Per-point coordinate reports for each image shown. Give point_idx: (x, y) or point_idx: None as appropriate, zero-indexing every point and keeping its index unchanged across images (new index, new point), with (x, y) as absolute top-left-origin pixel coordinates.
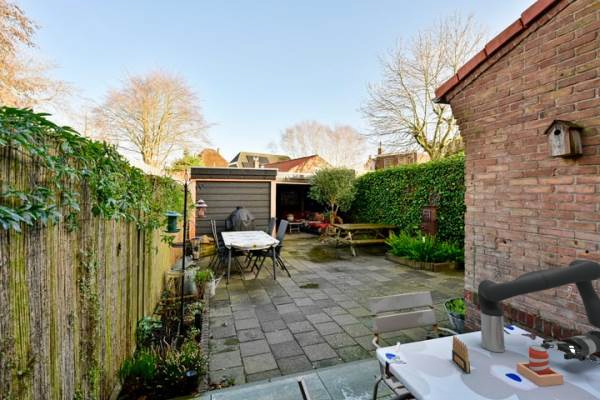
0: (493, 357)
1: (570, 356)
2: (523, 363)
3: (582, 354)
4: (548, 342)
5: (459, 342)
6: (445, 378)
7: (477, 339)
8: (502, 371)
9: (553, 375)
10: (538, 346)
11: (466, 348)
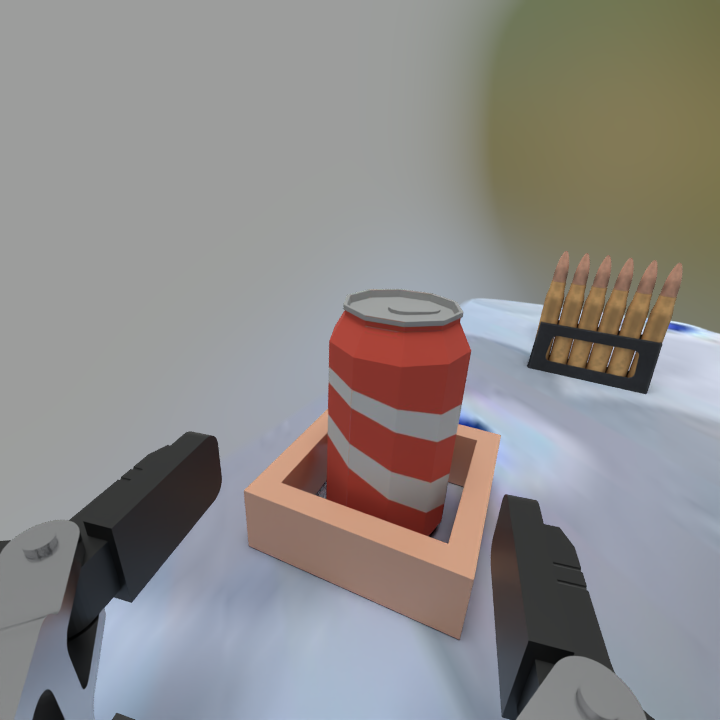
0: (712, 538)
1: (138, 471)
2: (482, 456)
3: None
4: (579, 693)
5: (619, 273)
6: (517, 330)
7: None
8: (511, 436)
9: (295, 446)
10: (424, 324)
11: (556, 267)
